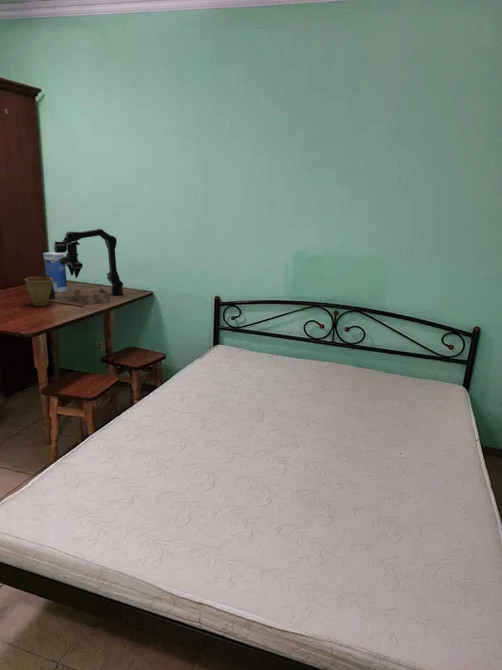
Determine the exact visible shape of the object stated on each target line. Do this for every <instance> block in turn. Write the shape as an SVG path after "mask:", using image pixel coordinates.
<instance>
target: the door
mask: <svg viewBox="0 0 502 670" xmlns="http://www.w3.org/2000/svg"><path fill="white" fill-rule="evenodd" d="M100 288H101V287H100ZM100 288H87V289H79V290H80V294H81V295H91V294H100Z"/></svg>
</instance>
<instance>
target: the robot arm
mask: <svg viewBox="0 0 502 670" xmlns="http://www.w3.org/2000/svg"><path fill="white" fill-rule="evenodd" d="M98 236H99V237H100V238H101V239H103V240H104V243H105V246H106V248H107V254H108V266H109V272H106V276H107V279H106V280H108V281H109V283H110V284H111V289H110V290H111V291H110V295H113V296H123V295H124V292H123V286H124V282H123V281H122V280H120V276H119V273H118V271H117V260H116V248H117V242H118V241H117V238H116V236H114V235H110V234H109V233H107V232H106V231H104V230H103V229H102V228H98V229H90V230H85V231H67V232H66V233H65V235H64V238H63V240H62V241H54V246H53V252H55V253H62V254H64V253H66V252H67V253H66V256H65V255H64V256H65V257H62V258H60V259H58V260H59V262H60V264H61V265H63V264H65V267H67V268H68V270H69V273H70V276H74V277H75V279H78V278H79V277H78V276H79V274H80V273H81V270H82V268H83V264H84V263H82V262H80V261H79V257H78V256H79V253H78V246H80V245H81V244H80V242H79V240H81V239H84V238H85V239H86V238H93V237H98Z"/></svg>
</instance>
